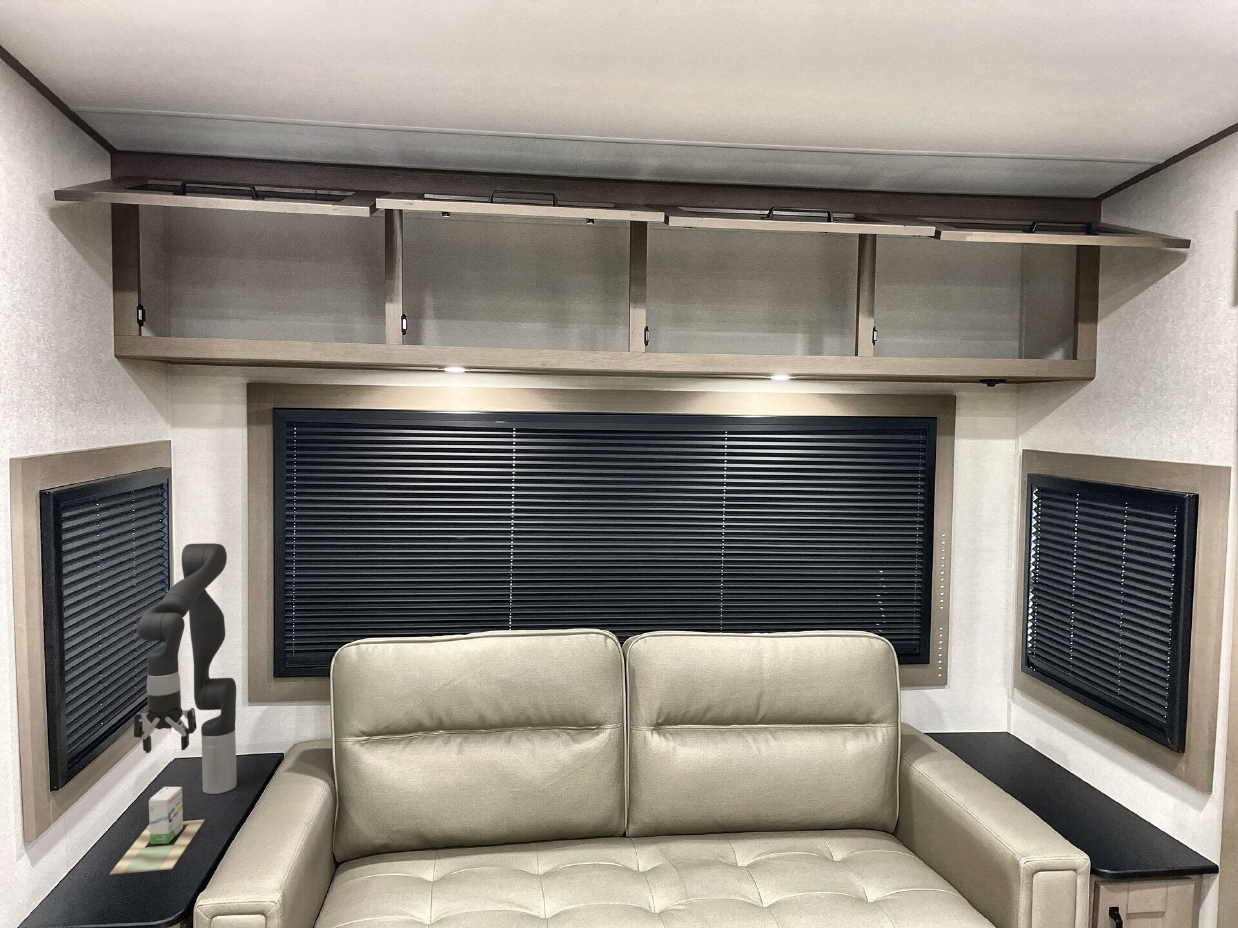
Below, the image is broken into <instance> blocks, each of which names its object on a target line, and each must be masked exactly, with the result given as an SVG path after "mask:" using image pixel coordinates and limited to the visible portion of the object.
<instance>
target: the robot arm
mask: <svg viewBox="0 0 1238 928" xmlns="http://www.w3.org/2000/svg"><path fill="white" fill-rule="evenodd" d="M227 556H228V554H227V551H226V548H225V546H224V545H223V544H222V543H220V544H219V543H214V542H213V543H211V542H210V543H209V542H208V543H205V542H204V543H203V542H201V543H188V544H185V546H183V549H182V551H181V560H180V561H181V569H182V574H183V579H180V580H179V581H178V582H176V583H175V584H174V585H172V586H171V588H169V590H168V591H167V593H166V594H165V595H164V597H163V598H162V600H161V601H159V602H157V603H156V604H155V605H154V606H152V607H150V609H148V610H147V611H145V613H144V614H143V615H142V616H141V617H140V619H139V620H138V623H137V627H136V632H137V635H138V637H139V638H141V640H143V641H147V642H157V641H158V642H159V641H165V646H163V647H159V648H155V649H152V650H151V651H149V652H148V653H147V656H146V662H147V663H146V667H147V671H146V672H147V681H146V693H147V694H146V695H147V696H146V697H147V712H142V711H138V712H137V713H136V714H135V715H134V719H133V737H134V738H139V739H141V740H142V749H143V752H145V754H149V753H151V751H152V736H151V734H152V732H153V731H154V729H157V730H163V729H172V728H173V729H174V730H175V731H176V732H178V733H179V734H180V735H181V736H180V744H181V745H180V748H181V749H180V750H181V751H186V749H187V748H188V747H189V745H190V735H191V734H194V732H195V731H196V730H197V720H196V719H197V718H196V709H197V710H199V711H216V710H217V711H218V710H219V711H220V715H217V716H215V717H213V718H211V719H208V720H206V721H204V722H203V723H202V725H201V729H200V734H201V763H202V765H201V767H202V770H201V771H202V775H201V776H202V792H203V793H205V794H210V795H216V794H222V793H223V794H224V793H227V792H229V791H231V790H233V789H235V788H236V787H237V747H236V745H237V743H236V719H237V718H236V717H237V713H236V712H237V711H236V707H237V684H236V680H235V679H234V678H232V677H214V678H213V677H212V678H211V677H210V666H211V664H212V661H213V659H214V658H215V656H216V655H217V653H218V652H219V650H220V648H221V647H222V645H223V643H224V642H225V639H226V626H225V625H226V623H225V615H224V612H223V611H222V609H221V608H220V606H219V605H218V604H217V603H216V601H215V600H214V599H213V597H211V595H210V594H209V593H208V591H207V588H208V587H209V586H210V585H211V584H212V583H213V582H214V581H215V580H216V579H217V578H218V577H219V576H220V575H221V574H222V572H223V571H224V569H225V568H226V565H227V562H228V561H227V559H228V557H227ZM187 614H188V615H189V616H188V617H189V619H188V620H189V631H190V632H189V633H190V640H191V641H190V642H191V649H192V658H193V659H192V661H193V699H194V704H195V707H196V709H195V708H194V707H191V708H190V709H184V710H183V709H182V698H181V697H182V696H181V695H182V694H181V678H180V673H179V669H180V668H179V651H180V647H181V641H182V638H183V635H184V631H185V623H186V622H185V620H184V618H185V616H186V615H187ZM183 716H184V718H185V719H186V720H187V726H186V725H185V722H184V721H183V720H182V719H181V718H182V717H183ZM145 719H147V720H148V721H149V723H150V724H149V726H148V727H147V729H146V730H143V728H144V727H143V726H144V725H143V722H144V721H145Z"/></svg>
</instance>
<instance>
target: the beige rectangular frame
mask: <svg viewBox="0 0 1238 928" xmlns="http://www.w3.org/2000/svg"><path fill="white" fill-rule="evenodd" d="M204 822H205V819H196V820H194V819H193V820H185V821H183V827H184V826H186V827H185V829H183V831H182V832H181V834H180V835H179V837H178V838H177V840H176V841H175V842H174V844H169V845H160V846H148V844H150V823H149V824H148V825H147V826H146V828H145V829H144V830H143V831H142V833H140V835H139V836H138V838H137V839H136V840H135V841H134V843H133V844H132V845H131V846H130V847H129V849H128V850H127V851H126V852H125V854H124V855H123V856H122V858H120V860H119V861H118V863H117V864H115V866H114V867H113V869H112V870H111V871H110V873H109V875H121V874H131V873H132V874H133V873H144V872H154V871H164V870H173V869H174V867H175V866H176V864H177V862H178V860H179V859H180V858H181V856H182V855H183V854H184V852H185V850H186V849H187V847H188V846H189V844H190V843H191V841H192V840H193V838H194V837H195V836H196V834H197V833H198V831H199V830H200V829H201V827H202V825H203V823H204ZM147 846H148V847H147Z"/></svg>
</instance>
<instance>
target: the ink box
mask: <svg viewBox="0 0 1238 928" xmlns="http://www.w3.org/2000/svg"><path fill="white" fill-rule="evenodd" d="M183 812H184V811H183V787H182V786H163V787H162V788H161V789H160V790H159V791H157V792H156V793H155V794H154V795H153V796H151V797H150V798H149V800H148V816H149V817H148V821H149V824H150V842H149V844H151V845H160V844H161V845H162V844H170V842H171V841H172V840H174V838H175V837H177V835H178V834H180V832H181V831H182V830H184V826H183V820H184V818H183V817H184V816H183V815H184V814H183Z"/></svg>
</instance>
